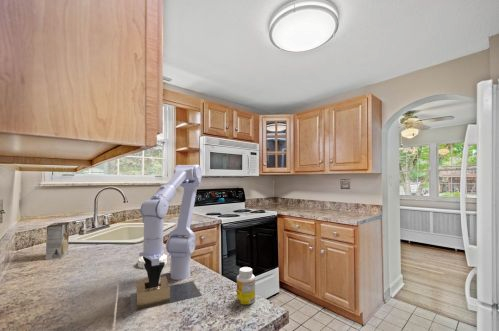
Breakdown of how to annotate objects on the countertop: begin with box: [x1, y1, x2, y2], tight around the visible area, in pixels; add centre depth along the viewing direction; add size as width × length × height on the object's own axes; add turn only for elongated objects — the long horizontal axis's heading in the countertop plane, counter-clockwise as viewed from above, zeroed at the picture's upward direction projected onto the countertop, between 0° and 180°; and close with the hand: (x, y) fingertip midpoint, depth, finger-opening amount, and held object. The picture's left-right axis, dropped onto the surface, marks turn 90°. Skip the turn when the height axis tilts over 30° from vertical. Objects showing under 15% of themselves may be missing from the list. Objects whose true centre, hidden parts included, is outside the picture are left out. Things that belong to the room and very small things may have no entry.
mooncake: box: [137, 253, 168, 270], centre depth 105 cm, size 12×12×4 cm
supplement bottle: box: [236, 266, 256, 306], centre depth 71 cm, size 6×6×10 cm
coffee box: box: [45, 221, 70, 261], centre depth 117 cm, size 9×6×16 cm
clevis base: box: [130, 275, 203, 313], centre depth 75 cm, size 12×20×5 cm, turn 117°
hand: (152, 281), depth 73 cm, fingers open, 7 cm apart
